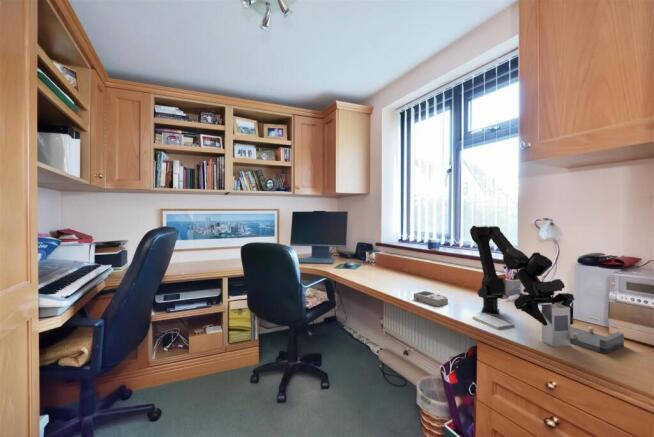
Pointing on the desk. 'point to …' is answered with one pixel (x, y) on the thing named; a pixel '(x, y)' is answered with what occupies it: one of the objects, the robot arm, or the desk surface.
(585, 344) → the drive dock
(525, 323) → the desk surface
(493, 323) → the hard drive
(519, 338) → the desk surface
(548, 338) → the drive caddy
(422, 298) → the handheld gaming device
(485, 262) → the robot arm
